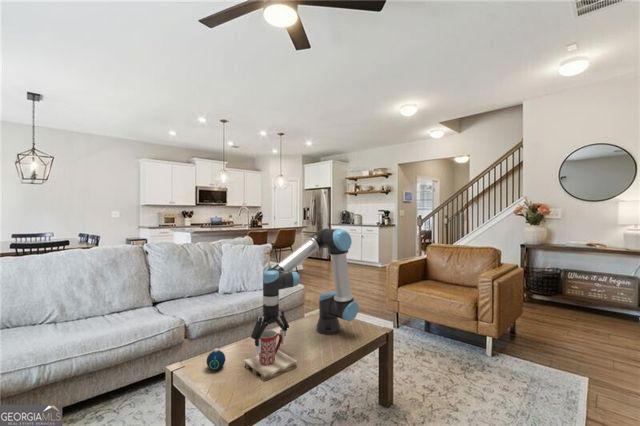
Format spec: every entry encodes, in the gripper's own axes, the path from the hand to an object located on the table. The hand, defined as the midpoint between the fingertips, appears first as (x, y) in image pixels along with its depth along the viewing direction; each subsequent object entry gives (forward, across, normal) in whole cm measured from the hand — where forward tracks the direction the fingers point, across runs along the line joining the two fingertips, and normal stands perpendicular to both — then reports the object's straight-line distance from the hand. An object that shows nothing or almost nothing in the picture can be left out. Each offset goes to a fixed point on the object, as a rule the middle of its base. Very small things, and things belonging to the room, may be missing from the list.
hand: (270, 347), depth 147 cm
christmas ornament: (+9, +20, -16) cm, 27 cm away
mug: (+6, 0, 0) cm, 6 cm away
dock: (+9, 0, 0) cm, 9 cm away
